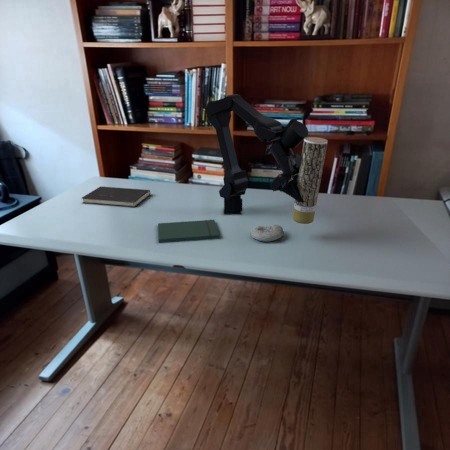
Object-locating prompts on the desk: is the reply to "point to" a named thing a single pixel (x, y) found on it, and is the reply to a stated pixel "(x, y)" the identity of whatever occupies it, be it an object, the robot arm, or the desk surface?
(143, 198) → the hardcover book
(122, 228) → the desk surface
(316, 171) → the paper tube
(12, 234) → the desk surface
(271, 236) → the fossil
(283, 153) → the robot arm
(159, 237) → the notebook
